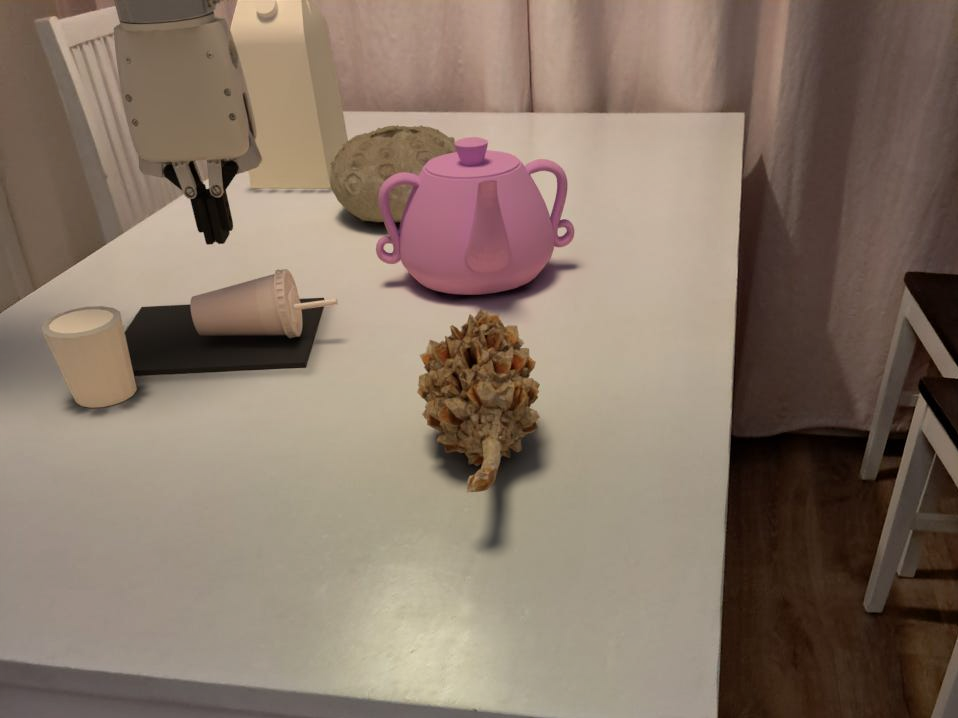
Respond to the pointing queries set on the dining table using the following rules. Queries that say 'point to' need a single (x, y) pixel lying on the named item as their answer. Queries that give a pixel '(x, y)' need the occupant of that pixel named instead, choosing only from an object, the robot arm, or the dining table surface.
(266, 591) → the dining table surface
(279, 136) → the milk
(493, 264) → the teapot
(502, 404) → the pine cone
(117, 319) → the cream candle
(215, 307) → the smoothie
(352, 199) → the decorative shell
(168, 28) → the robot arm
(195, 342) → the mat
